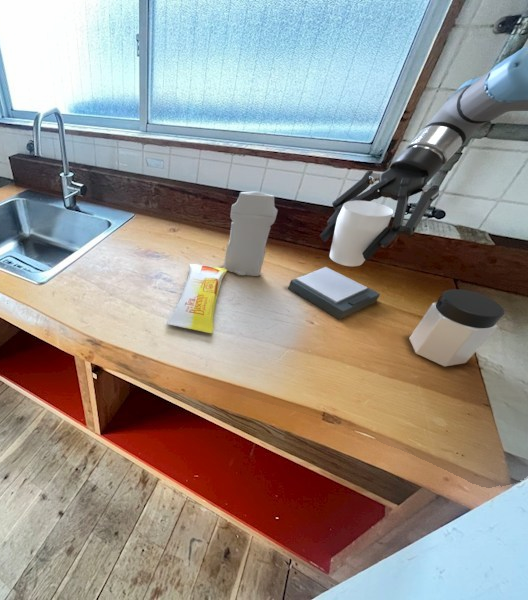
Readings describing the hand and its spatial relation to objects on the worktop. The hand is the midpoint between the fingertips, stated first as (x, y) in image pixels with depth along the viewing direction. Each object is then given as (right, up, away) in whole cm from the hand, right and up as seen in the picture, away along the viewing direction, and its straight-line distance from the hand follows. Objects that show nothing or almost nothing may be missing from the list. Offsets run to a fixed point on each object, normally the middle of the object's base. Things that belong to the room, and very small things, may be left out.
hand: (342, 247), depth 69 cm
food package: (-28, -11, +11) cm, 32 cm away
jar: (+14, -21, -6) cm, 27 cm away
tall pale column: (-15, -4, +20) cm, 25 cm away
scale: (+3, -10, +10) cm, 14 cm away
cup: (+3, -2, +4) cm, 5 cm away
